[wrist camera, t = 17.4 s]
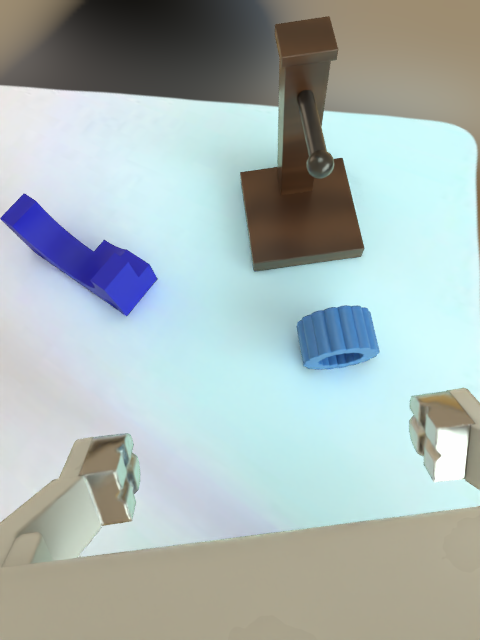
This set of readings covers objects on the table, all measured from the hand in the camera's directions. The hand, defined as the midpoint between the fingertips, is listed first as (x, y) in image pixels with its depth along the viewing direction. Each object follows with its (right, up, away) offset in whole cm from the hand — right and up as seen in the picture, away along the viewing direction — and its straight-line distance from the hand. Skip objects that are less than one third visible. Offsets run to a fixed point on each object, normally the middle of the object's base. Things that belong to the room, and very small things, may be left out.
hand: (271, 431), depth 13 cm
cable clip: (-15, +8, +31) cm, 35 cm away
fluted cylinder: (+6, +1, +26) cm, 27 cm away
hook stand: (+5, +13, +31) cm, 34 cm away
